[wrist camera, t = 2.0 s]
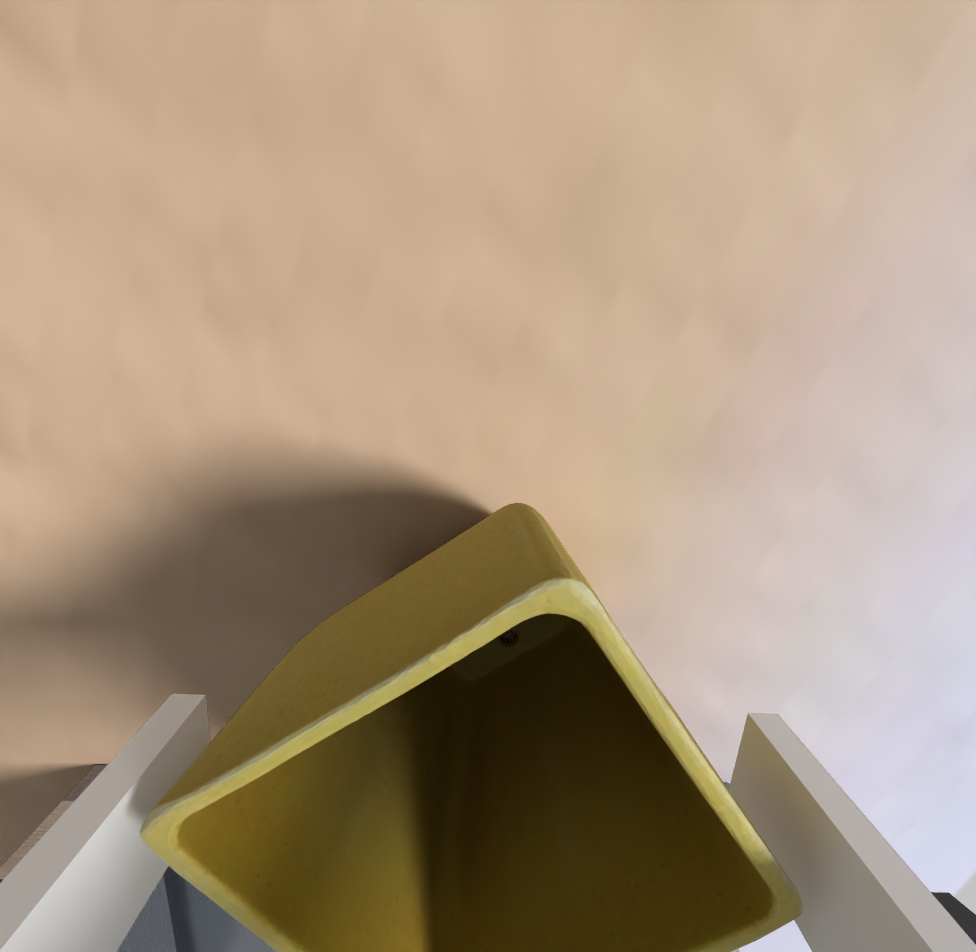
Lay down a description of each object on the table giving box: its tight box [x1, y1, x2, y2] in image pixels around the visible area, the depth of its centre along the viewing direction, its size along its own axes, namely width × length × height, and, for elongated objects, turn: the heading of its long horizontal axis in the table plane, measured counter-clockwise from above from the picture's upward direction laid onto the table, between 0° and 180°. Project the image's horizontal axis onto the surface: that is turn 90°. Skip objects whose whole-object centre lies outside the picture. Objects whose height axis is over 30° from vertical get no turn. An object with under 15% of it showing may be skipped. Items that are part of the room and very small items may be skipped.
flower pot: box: [140, 503, 803, 952], centre depth 12 cm, size 9×9×9 cm
